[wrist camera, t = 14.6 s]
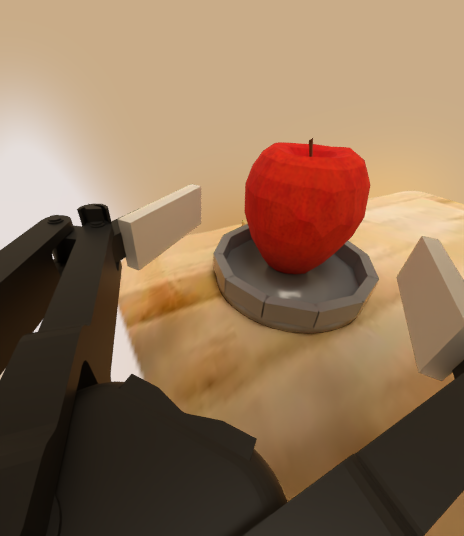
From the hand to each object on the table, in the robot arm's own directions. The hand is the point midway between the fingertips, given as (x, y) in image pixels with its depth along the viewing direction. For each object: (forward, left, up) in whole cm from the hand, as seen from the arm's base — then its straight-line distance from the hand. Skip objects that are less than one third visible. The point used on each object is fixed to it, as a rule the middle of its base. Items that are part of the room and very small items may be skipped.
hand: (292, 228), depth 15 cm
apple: (-6, -9, -10) cm, 15 cm away
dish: (-6, -8, -11) cm, 14 cm away
